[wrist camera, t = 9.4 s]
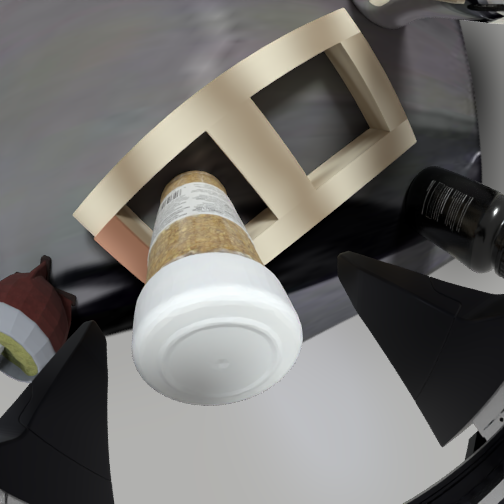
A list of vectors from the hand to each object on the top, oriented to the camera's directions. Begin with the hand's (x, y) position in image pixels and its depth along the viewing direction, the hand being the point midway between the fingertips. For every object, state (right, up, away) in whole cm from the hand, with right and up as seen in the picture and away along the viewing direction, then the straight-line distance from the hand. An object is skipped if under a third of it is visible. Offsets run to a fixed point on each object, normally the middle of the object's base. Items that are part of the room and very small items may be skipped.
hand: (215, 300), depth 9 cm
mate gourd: (-16, -2, +9) cm, 19 cm away
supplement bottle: (+18, +7, +14) cm, 24 cm away
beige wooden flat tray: (+1, +8, +8) cm, 12 cm away
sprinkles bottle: (-3, +5, +9) cm, 11 cm away
